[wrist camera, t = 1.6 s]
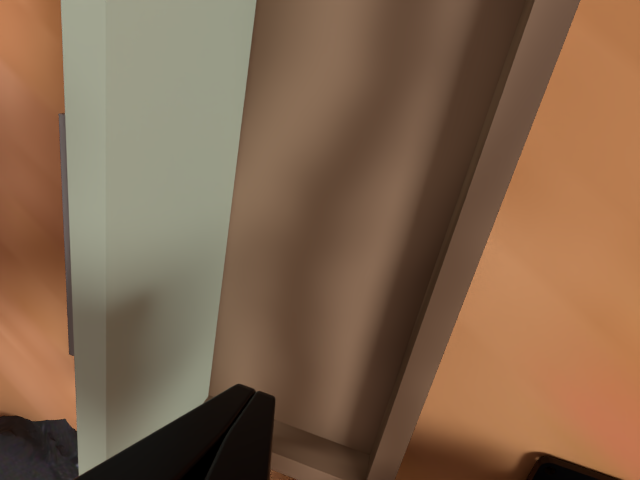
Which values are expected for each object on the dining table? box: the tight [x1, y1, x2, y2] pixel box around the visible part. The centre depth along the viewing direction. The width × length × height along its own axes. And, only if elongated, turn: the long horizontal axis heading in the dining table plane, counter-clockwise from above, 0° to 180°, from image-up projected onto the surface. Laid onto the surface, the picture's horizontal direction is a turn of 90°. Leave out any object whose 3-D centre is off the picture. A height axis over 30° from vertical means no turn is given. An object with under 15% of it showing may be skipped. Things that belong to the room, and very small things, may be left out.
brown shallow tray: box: [204, 0, 580, 480], centre depth 18 cm, size 12×26×3 cm, turn 168°
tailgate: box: [59, 0, 256, 476], centre depth 15 cm, size 2×24×8 cm, turn 168°
